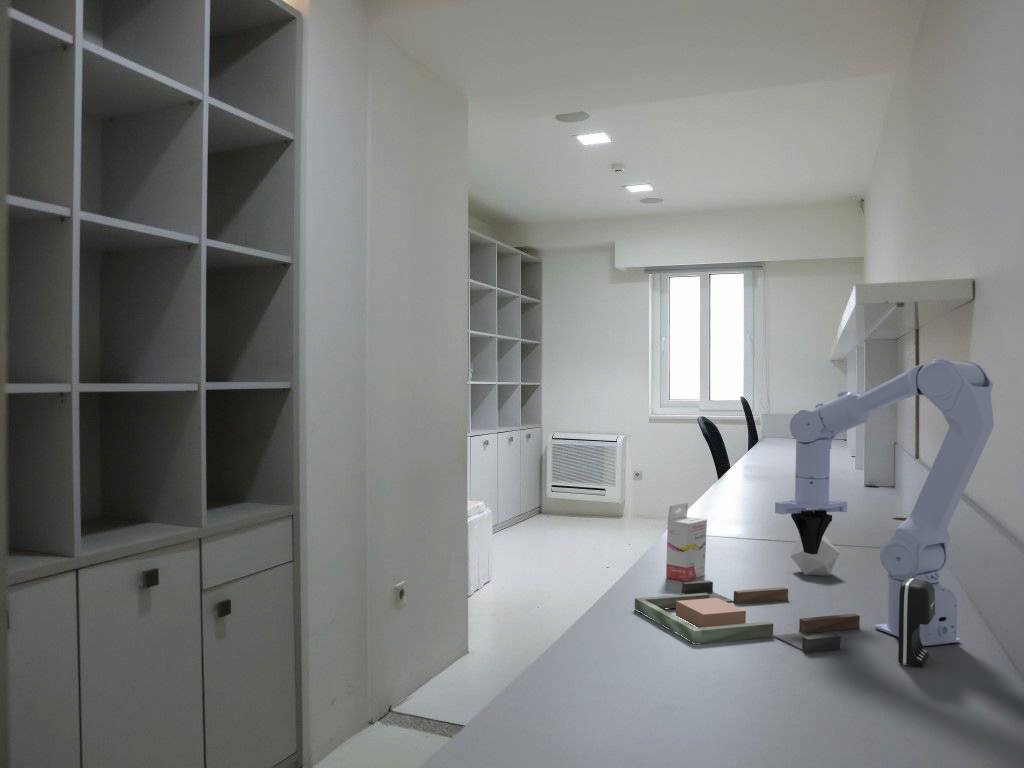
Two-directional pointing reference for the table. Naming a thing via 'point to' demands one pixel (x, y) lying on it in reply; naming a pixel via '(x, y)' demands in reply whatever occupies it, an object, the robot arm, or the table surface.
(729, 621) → the brick block
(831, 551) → the die
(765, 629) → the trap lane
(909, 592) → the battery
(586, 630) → the table surface
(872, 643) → the table surface
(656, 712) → the table surface
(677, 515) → the ink cartridge box
